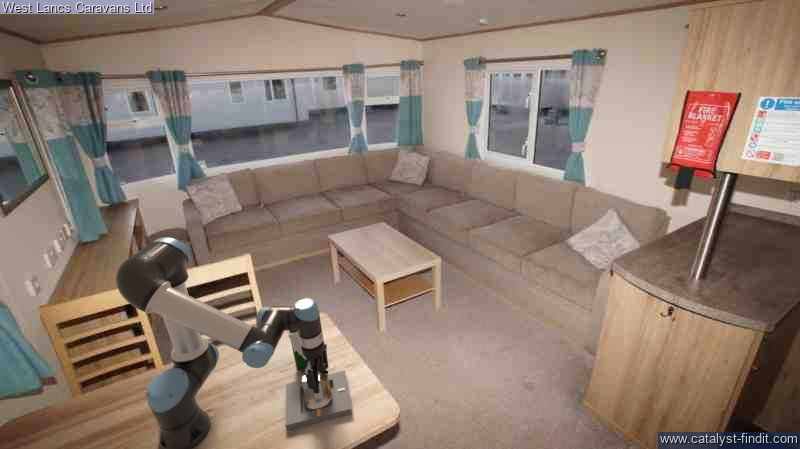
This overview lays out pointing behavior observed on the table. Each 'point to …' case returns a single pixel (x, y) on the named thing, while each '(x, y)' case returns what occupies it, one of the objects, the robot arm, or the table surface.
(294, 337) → the milk carton
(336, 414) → the panel
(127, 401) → the table surface
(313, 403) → the dial
